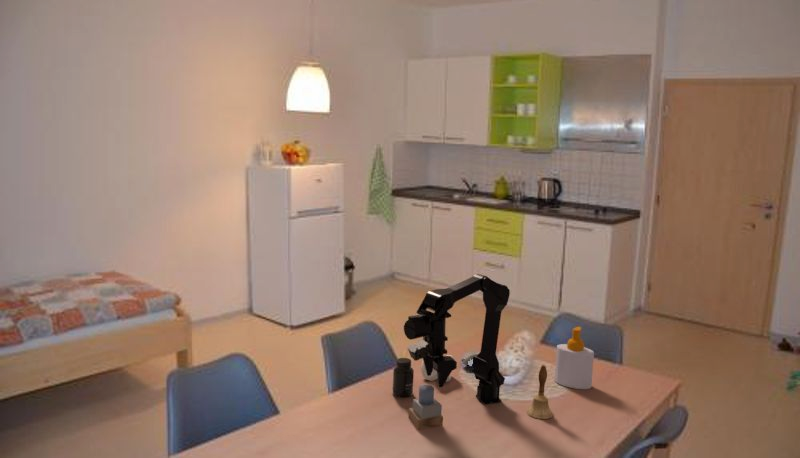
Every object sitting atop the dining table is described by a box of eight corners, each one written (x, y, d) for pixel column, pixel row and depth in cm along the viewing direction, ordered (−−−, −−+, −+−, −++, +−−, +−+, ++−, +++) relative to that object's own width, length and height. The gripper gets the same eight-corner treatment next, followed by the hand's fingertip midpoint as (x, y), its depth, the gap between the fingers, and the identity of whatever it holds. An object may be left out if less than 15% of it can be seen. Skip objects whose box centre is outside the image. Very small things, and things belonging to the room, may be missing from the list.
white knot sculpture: (416, 382, 225) (417, 358, 223) (425, 370, 236) (425, 347, 234) (447, 387, 221) (448, 362, 220) (455, 374, 233) (456, 351, 231)
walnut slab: (432, 415, 201) (432, 405, 200) (442, 427, 193) (442, 416, 193) (408, 418, 198) (408, 408, 197) (417, 430, 191) (418, 419, 190)
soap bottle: (594, 384, 227) (599, 329, 224) (587, 392, 220) (592, 336, 217) (558, 376, 234) (562, 322, 231) (550, 383, 227) (554, 328, 224)
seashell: (484, 361, 247) (484, 348, 246) (494, 368, 239) (495, 356, 238) (456, 364, 243) (456, 352, 242) (466, 372, 235) (466, 359, 234)
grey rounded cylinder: (429, 397, 197) (430, 383, 196) (435, 403, 193) (436, 389, 192) (416, 399, 196) (416, 385, 195) (422, 405, 191) (422, 391, 191)
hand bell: (530, 405, 209) (533, 359, 206) (555, 411, 205) (559, 364, 202) (523, 415, 201) (526, 367, 199) (549, 421, 198) (553, 373, 195)
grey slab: (431, 406, 199) (431, 396, 198) (441, 415, 193) (441, 404, 192) (412, 410, 196) (412, 399, 196) (421, 419, 190) (422, 408, 190)
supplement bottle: (410, 399, 211) (411, 364, 209) (390, 397, 212) (391, 362, 210) (414, 391, 218) (415, 357, 216) (395, 388, 219) (395, 355, 217)
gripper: (400, 325, 199) (399, 373, 202) (422, 346, 182) (421, 397, 185) (433, 322, 203) (432, 368, 206) (458, 341, 186) (456, 392, 189)
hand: (434, 381), depth 196 cm, fingers open, 9 cm apart
